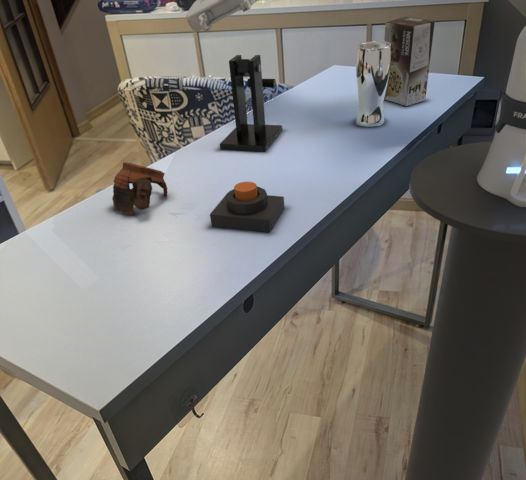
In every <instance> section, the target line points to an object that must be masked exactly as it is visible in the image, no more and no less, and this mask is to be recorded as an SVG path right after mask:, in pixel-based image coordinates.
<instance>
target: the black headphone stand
mask: <svg viewBox="0 0 526 480" xmlns="http://www.w3.org/2000/svg"><path fill="white" fill-rule="evenodd" d="M261 58H262V57H261V54H255V55H254V56H253V57H251V58H250V59H249V61H248V64H249V75H250V77H249V79H250V87H249V88H250V97H251V106H252V107H251V109H252V110H251V111H252V120H253V123H248V114H247V103H246V102H247V100H246V91H245V90H246V89H245V81H244V79H245V78H244V77H242V76H241V75H240V74H239V73H238V59H243V58H242V55H241V54H236V55H235V56H233V57H232V58H231V59H229V60H228V64H229V66H228V67H229V75H230V76H229V77H230V84H231V95H232V103H233V113H234V120H235V121H234V122H235V128H234V129H233V130H231V132H230V133H229V134H228V135H227V136H226V137H225V138H224V139H223V140H222V141H221V142H220V143H219V149H220V150H221V151H241V152H243V151H244V152H259V153H260V152H262V153H266V152H267V150H268V149H269V148H270V147H271V146H272V144H273V143H274V142H275V141H276V139H277V138H278V137H279V136H280V134H281V133H282V131H283V125H282V124H281V125H280V124H266V113H265V103H264V88H263V86H262V79H263V73H262V72H263V71H262V59H261Z"/></svg>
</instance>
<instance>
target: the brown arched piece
mask: <svg viewBox="0 0 526 480" xmlns="http://www.w3.org/2000/svg"><path fill="white" fill-rule="evenodd" d="M164 177H165V172H163V171H162V170H159V169H155V168H151V167H147V166H143V165H139V164H135V163H131V162H127V161H126V162H125V161H124V162H122V168H121V169H120V170H119V171H118V172H117V173H116V174H115V176H114V179H113V186H112V189H113V190H112V193H113V195H112V198H111V199H112V203H113V209H114V210H116V211H117V212H120V213H123V214H126V215H129V216H130V215H131V216H134V214H135V213H134V212H135V211H134V208H136V209H137V210H140V211H145V210H146V209H149V208H150V204H151V196H152V191H153V186H152V184H156V185H157V186H159V187H160V188H161V189H162V190H163V197H164V198H167V197H168V193H169V191H168V185H167V182H166V181H165V179H164ZM130 184H131V185H132V188H131V186H130Z"/></svg>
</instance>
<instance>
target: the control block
mask: <svg viewBox="0 0 526 480" xmlns="http://www.w3.org/2000/svg"><path fill="white" fill-rule="evenodd" d="M257 194H258V196H257V198H255V199H253V200H248V201H240V200H237V199H236V198H235V191H234V188H233V189H231V190H229V191H228V192H227V193H226V194H225V195H224V196H223V198H222V199H221V200H220V201H219V202H218V204H217V205H216V206H215V208H213V210H212V211H211V212H210V213H209V218H210V224H211V227H214V228H215V227H216V228H225V229H236V230H243V231H244V230H245V231H254V232H265V233H271V231H272V230H273V228H274V227H275V225H276V224H277V221H279V218H280V217H281V215H282V214H283V211H284V210H285V197H284V196H282V195H281V196H280V195H268V192H267V191H266V189H265V188H263V187H261V186H258V185H257Z"/></svg>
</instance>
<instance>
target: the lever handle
mask: <svg viewBox="0 0 526 480" xmlns="http://www.w3.org/2000/svg"><path fill="white" fill-rule="evenodd" d="M249 60H250V59H249V58H242V59H238V73H239V74H240V75H241V76H242V77H243V78H247V80H246V85H247V88H251V87H250V75H249V64H248V61H249ZM262 86H263V89H265V88H267V89H268V88H269V89H272V88H273V89H274V88H276V86H277V80H276V78H262Z"/></svg>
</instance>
